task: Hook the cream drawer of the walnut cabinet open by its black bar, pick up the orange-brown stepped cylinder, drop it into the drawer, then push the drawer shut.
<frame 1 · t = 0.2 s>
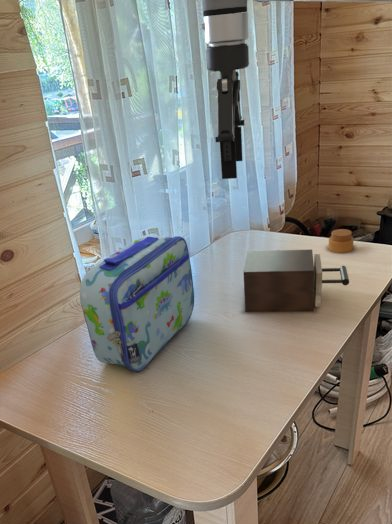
hand: (232, 169, 101), 30 cm above the table, tool pointing down, fingers open, 13 cm apart
drawer: (302, 280, 114), point 5 cm above the table, slide at 0.5 cm
lunch box: (150, 344, 106), on the table
orange-brown stepped cylinder: (340, 248, 139), on the table
cabinet: (279, 299, 117), on the table
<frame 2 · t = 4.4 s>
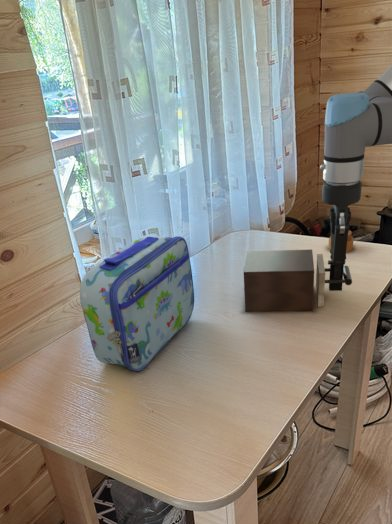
hand: (335, 289, 114), 2 cm above the table, tool pointing down, fingers closed
drawer: (305, 280, 114), point 5 cm above the table, slide at 1.1 cm, touching gripper
everything else where it was.
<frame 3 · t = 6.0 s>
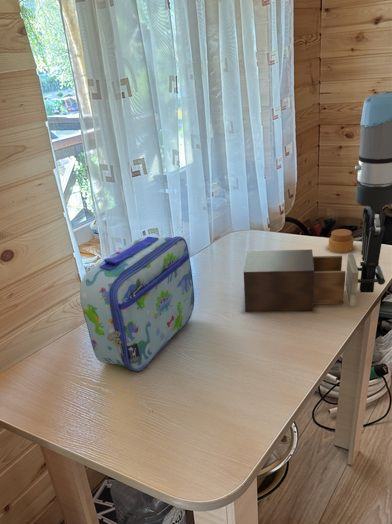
hand: (366, 290, 113), 2 cm above the table, tool pointing down, fingers closed
drawer: (336, 279, 112), point 5 cm above the table, slide at 7.7 cm, touching gripper
everything else where it was.
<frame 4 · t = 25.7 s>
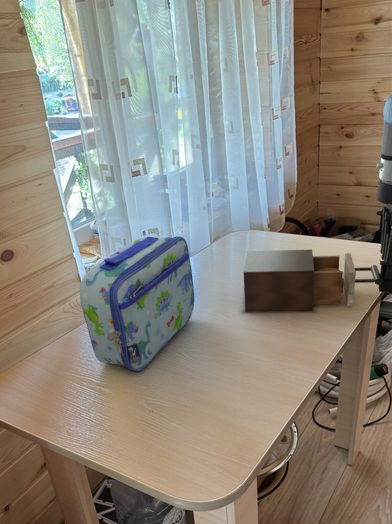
hand: (385, 290, 112), 2 cm above the table, tool pointing down, fingers closed
drawer: (333, 279, 113), point 5 cm above the table, slide at 7.2 cm, touching orange-brown stepped cylinder, gripper
orange-brown stepped cylinder: (328, 291, 114), point 2 cm above the table, touching drawer
everything else where it was.
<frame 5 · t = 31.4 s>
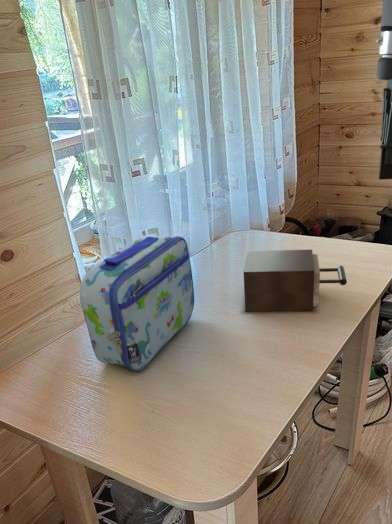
hand: (385, 178, 113), 22 cm above the table, tool pointing down, fingers closed
drawer: (300, 280, 114), point 5 cm above the table, slide at 0.0 cm, touching orange-brown stepped cylinder
orange-brown stepped cylinder: (295, 291, 115), point 2 cm above the table, touching drawer
everything else where it was.
at the end: drawer pulled out 8.1 cm at the most during the clip, back to where it started at the end; orange-brown stepped cylinder inside the target area in the cabinet (3.6 cm from its centre), point 2.0 cm above the cabinet's base; drawer slide at 0.0 cm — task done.
